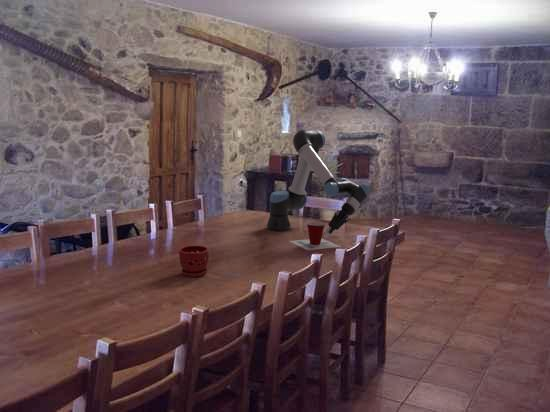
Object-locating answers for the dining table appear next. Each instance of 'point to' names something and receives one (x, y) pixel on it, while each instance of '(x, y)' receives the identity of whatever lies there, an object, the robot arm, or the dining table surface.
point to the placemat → (308, 246)
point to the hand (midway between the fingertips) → (324, 236)
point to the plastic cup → (315, 232)
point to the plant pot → (194, 260)
